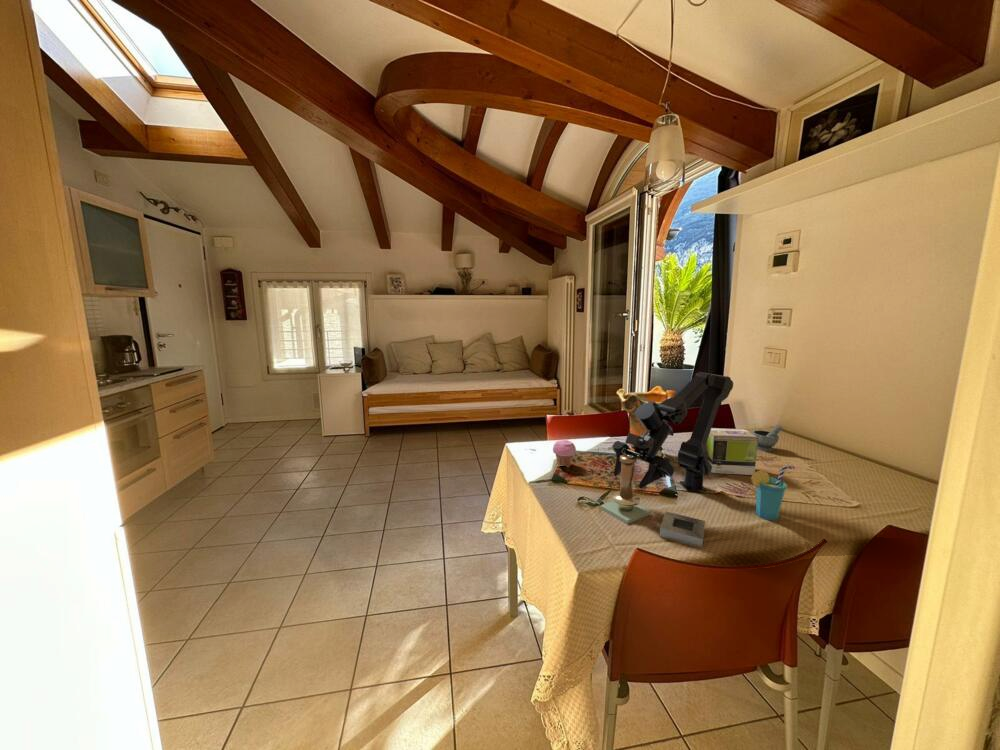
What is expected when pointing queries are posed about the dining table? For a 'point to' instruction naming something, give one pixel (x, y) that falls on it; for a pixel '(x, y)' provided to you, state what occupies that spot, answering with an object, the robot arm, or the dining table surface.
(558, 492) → the dining table surface
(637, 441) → the robot arm
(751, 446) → the tea box
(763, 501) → the cup
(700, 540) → the bore block
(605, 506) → the pad
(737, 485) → the dining table surface
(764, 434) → the mortar and pestle
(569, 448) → the cupcake
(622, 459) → the metallic flared cylinder
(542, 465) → the dining table surface
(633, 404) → the decorative vase
